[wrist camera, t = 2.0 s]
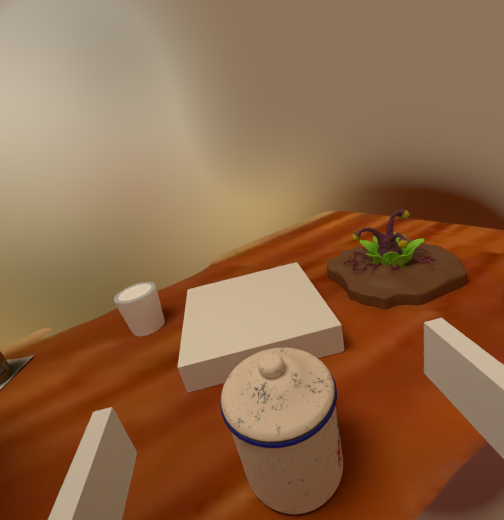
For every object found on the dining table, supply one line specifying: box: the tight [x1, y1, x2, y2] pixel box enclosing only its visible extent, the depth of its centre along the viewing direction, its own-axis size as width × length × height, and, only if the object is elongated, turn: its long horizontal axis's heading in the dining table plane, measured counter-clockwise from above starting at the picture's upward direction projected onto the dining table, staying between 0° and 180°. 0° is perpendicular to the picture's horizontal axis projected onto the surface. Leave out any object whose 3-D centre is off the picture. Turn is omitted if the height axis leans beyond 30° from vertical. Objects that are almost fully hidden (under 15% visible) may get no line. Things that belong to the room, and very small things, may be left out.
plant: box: [327, 210, 467, 309], centre depth 51 cm, size 20×20×11 cm
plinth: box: [178, 262, 344, 393], centre depth 46 cm, size 20×20×4 cm
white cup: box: [114, 282, 165, 336], centre depth 52 cm, size 7×7×7 cm
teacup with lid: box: [221, 348, 343, 514], centre depth 26 cm, size 12×9×12 cm
